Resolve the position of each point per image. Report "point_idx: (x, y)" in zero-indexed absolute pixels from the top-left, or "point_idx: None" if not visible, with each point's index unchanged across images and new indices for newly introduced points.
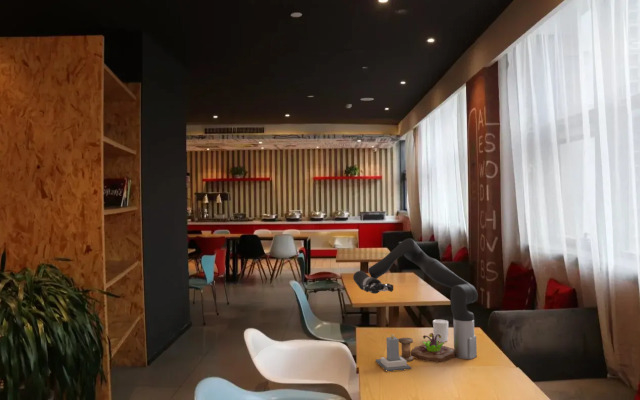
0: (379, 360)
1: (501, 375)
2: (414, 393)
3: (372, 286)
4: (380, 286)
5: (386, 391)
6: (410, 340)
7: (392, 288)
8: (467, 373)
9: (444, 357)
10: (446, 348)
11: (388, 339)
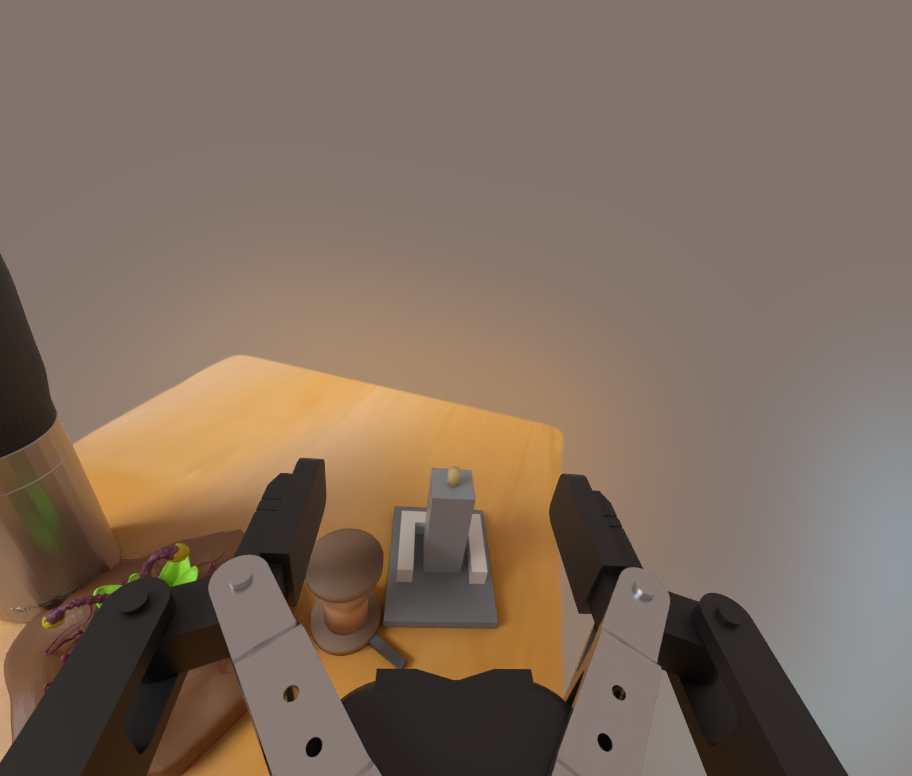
0: (484, 604)
1: (188, 415)
2: (460, 407)
3: (617, 607)
4: (414, 677)
5: (515, 426)
6: (332, 538)
7: (289, 479)
8: (256, 445)
9: (211, 535)
10: (90, 608)
11: (472, 484)
